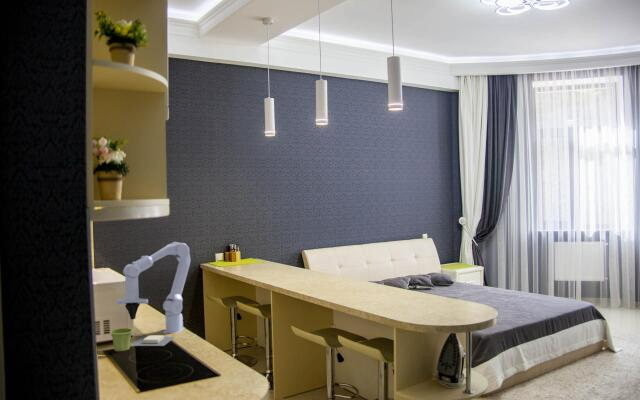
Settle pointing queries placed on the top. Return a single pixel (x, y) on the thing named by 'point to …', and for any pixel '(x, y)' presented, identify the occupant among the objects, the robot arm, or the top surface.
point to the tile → (153, 339)
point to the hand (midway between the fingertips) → (133, 318)
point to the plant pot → (121, 338)
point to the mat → (161, 343)
